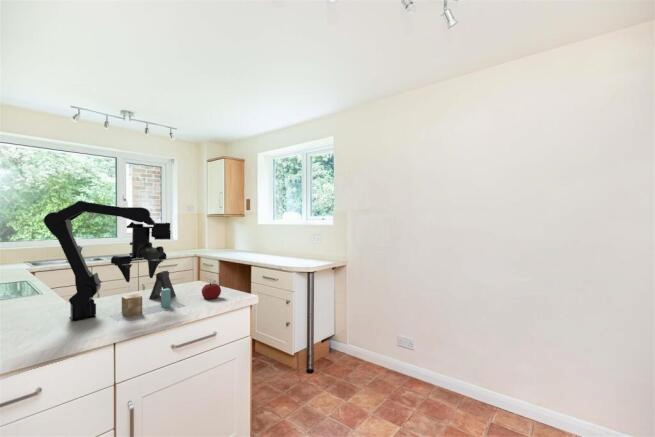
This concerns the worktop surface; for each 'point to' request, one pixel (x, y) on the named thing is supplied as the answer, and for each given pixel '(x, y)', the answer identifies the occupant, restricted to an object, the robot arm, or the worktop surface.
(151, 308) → the board
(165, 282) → the phone stand
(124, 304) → the wooden block
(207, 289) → the red apple
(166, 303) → the post
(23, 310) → the worktop surface
